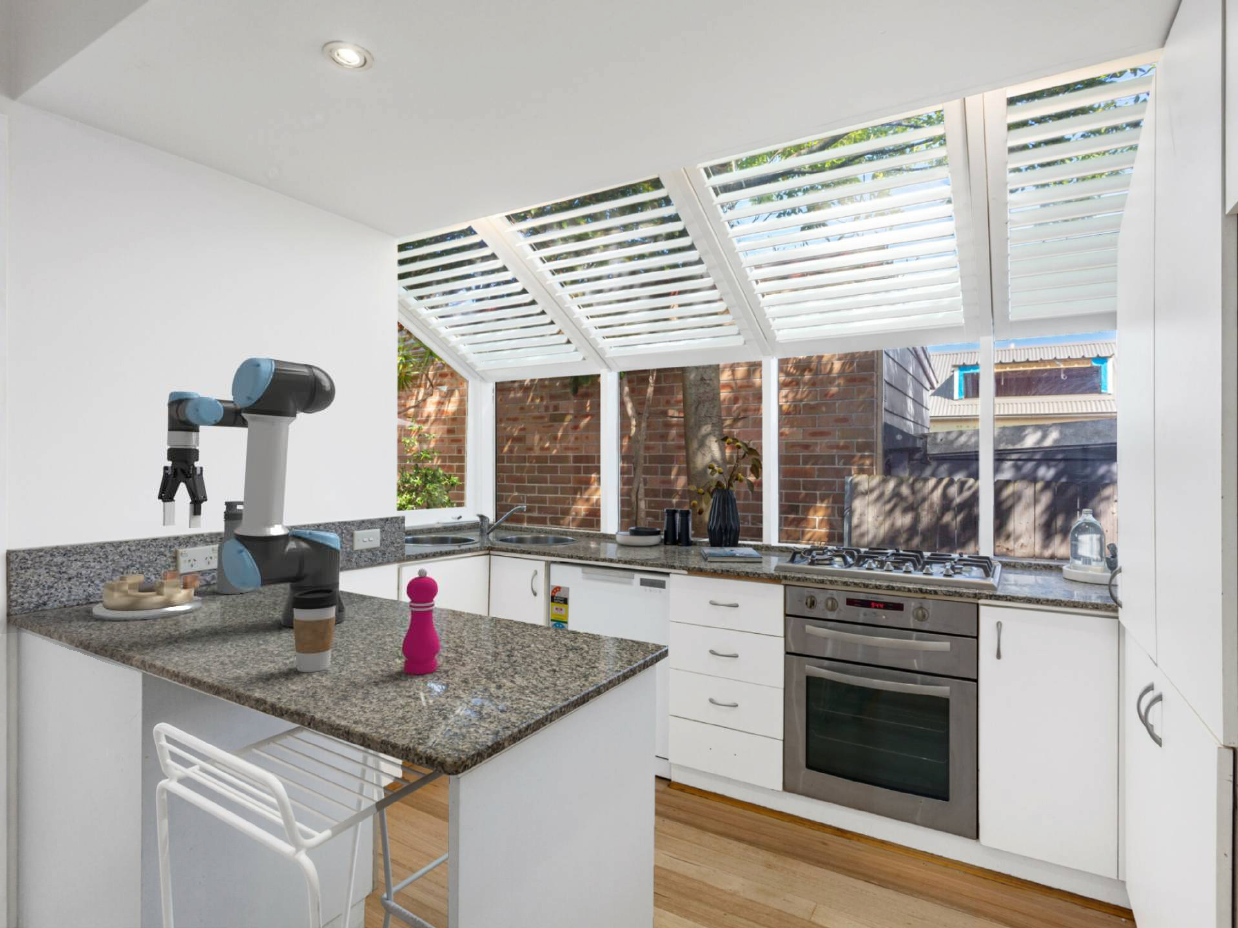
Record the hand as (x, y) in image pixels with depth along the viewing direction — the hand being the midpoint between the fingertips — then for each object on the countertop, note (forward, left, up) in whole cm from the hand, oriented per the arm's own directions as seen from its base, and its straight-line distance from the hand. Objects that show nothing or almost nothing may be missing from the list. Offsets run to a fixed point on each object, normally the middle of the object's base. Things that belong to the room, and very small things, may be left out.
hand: (181, 526), depth 189 cm
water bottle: (+12, -17, -22) cm, 31 cm away
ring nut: (-3, +8, -20) cm, 21 cm away
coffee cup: (-83, -5, -22) cm, 86 cm away
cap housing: (-3, +8, -22) cm, 23 cm away
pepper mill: (-98, -20, -22) cm, 102 cm away
